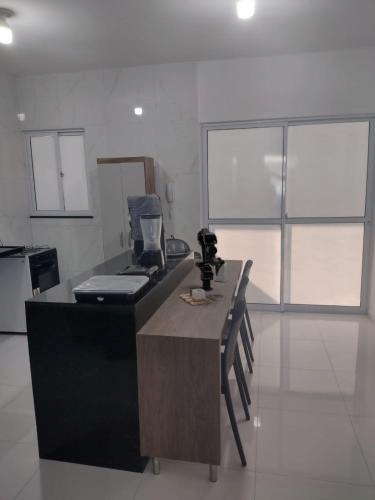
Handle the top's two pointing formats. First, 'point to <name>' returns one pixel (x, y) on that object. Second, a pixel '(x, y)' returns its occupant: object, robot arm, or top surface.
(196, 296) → the sleeve
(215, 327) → the top surface
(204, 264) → the robot arm
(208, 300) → the pin board
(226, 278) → the supplement box
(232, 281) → the top surface
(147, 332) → the top surface
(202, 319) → the top surface
